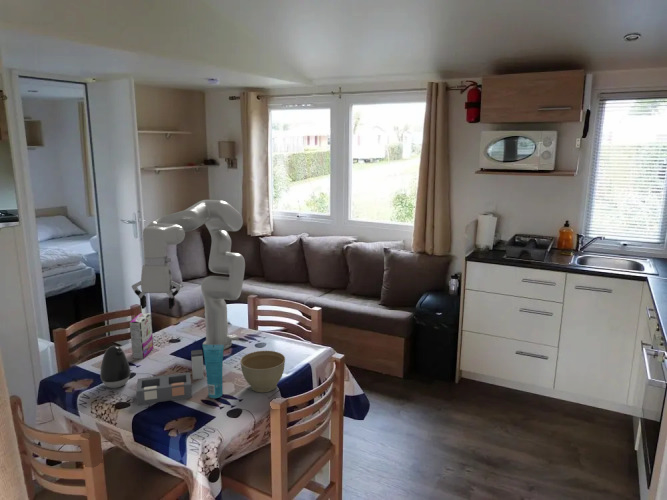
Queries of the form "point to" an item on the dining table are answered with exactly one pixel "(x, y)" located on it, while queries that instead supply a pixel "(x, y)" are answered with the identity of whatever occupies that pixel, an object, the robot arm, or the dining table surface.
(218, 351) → the tube
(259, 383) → the planter bowl
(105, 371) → the dark grey egg
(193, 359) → the plug
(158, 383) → the socket box
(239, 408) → the dining table surface
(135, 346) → the candy bar box
